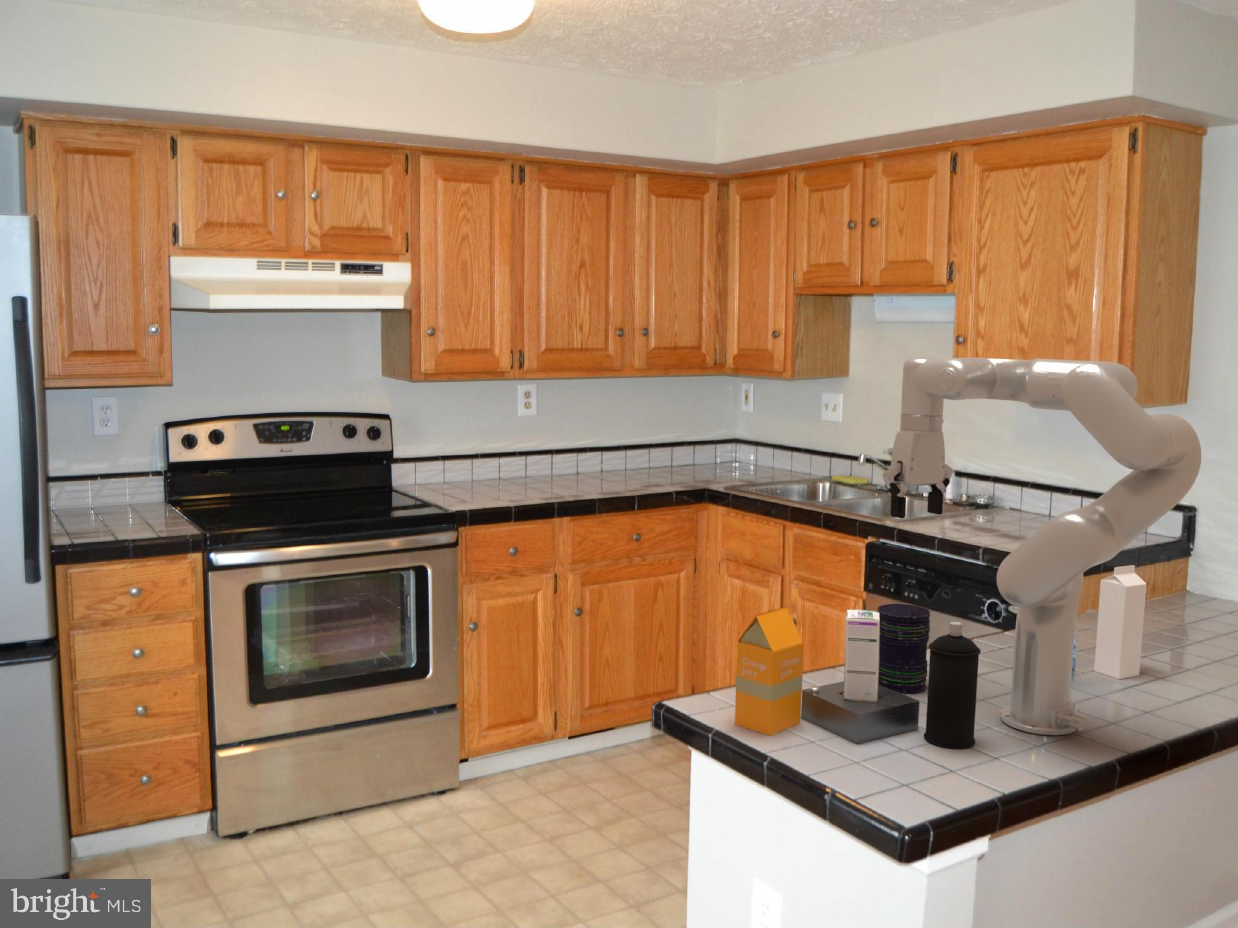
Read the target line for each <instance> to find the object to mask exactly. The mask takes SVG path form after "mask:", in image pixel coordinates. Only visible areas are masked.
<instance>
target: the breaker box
mask: <svg viewBox="0 0 1238 928" xmlns="http://www.w3.org/2000/svg"><path fill="white" fill-rule="evenodd" d="M843 693H844V680H843V681H839V682H835V683H834V682H833V683H828V684H823V685H819V686H815V685H813V686H812V685H811V686H810V687H809V688H804V689H802V692H801V716H800V719H801V718H802V720H803V719H804V720H805V721H808V722H809V723H811V724H815V725H817V726H818V727H820V728H823V729H824V730H827V731H829V732H830V733H832V734H835V735H838V736H839V737H841V738H844V739H846V740H848V741H850V742H851V743H854V744H856V745H858V744H863V743H867V742H871V741H872V742H873V741H875V740H879V739H883V738H887V737H892V736H895V735H900V734H905V733H909V732H912V731H917V730H919V720H920V719H919V718H920V702H921V701H920V700H919V699H915V698H913V697H910V696H909V695H903V694H901V693H898V692H896V691H893V690H891V689H888V688H886V687H883V686H881V685H878V697H879V698H878V699H877V702H869V701H865V702H860V703H859V702H857V701H855V700H848V699H844V696H843V695H842V694H843Z"/></svg>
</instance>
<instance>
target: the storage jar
mask: <svg viewBox="0 0 1238 928" xmlns="http://www.w3.org/2000/svg"><path fill="white" fill-rule="evenodd" d="M877 612H879V618H880V651H879V675H878V685H881V686H883V687H886V688H888V689H891V690H893V691H896V692H898V693H901V694H913V695H918V694H922V693H924V692H926V689H927V685H926V683H927V677H928V660H927V651H928V642H929V640H930V632H931V630H930V629H931V628H930V627H931V625H930V623H931V622H930V617H931V611H930V610H929V609H927V608H924V607H921V606H917V605H912V604H905V603H889V604H882V605H880V606H878V607H877Z"/></svg>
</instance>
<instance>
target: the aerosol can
mask: <svg viewBox="0 0 1238 928" xmlns="http://www.w3.org/2000/svg"><path fill="white" fill-rule="evenodd" d="M948 628H949V631H948V634H945V635H940V636H939V637H937V638H935V639H934V640H933V641H931V643H929V644H928V649H929V665H928V683H927V684H928V685H927V700H926V701H927V703H926V716H925V717H926V720H925V732H924V733H923V738H924V740H926V742H927V743H930V744H931V745H933V746H936V747H940V748H944V749H951V750H963V749H969V748H971V747H973V746H974V745H975V744H976V739H975V728H976V727H975V726H976V725H975V724H976V723H975V722H976V709H977V692H978V691H977V689H978V677H979V676H978V674H979V659H980V657H979V656H980V654H981V649H980V648H979V647H978V645H977V644H976V643H975V642H974V641H973V640H972V639H970V638H968V637H966V636H964V635H962V634H963V633H962V632H963V624H962V622H959V621H950V622H949V627H948Z"/></svg>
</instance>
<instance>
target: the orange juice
mask: <svg viewBox="0 0 1238 928" xmlns="http://www.w3.org/2000/svg"><path fill="white" fill-rule="evenodd" d="M803 659H804V641H803V639H802V637H801V635H800V633H799V630H798V628H797V627H796V624H795V622H794V621H793V618H792V616H791V614H790V611H789V609H788V607H787V606H783V607H780V608H776V609H772V610H768V611H766V612H761V613H758V614H756V615H755V616H754V617H753V619H752V620H751V622H750V623H749V625H748V626H747V627H746V629H745V631H744V632H742V635H741V637H740V638H738V640H737V644H736V671H735V673H736V674H735V701H734V702H735V705H734V706H735V707H734V711H735V712H734V725H736V724H737V726H739V725H740V726H739V727H742V726H744V727H743V728H745V727H746V728H745V729H748V728H750V729H749V730H751V729H752V731H754V730H756V731H755V732H757V731H759V732H758V733H760V732H761V733H760V734H763V733H764V734H763V735H766V734H768V735H767V736H768V737H771V736H773V735H775V733H776V734H778V733H781V732H782V731H785V730H787V729H790V728H793V727H795V726H797V725H799V724H801V706H802V690H803V667H804V666H803V665H804V663H803V662H804V660H803ZM780 731H781V732H780ZM772 734H773V735H772ZM770 735H771V736H770Z"/></svg>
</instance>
